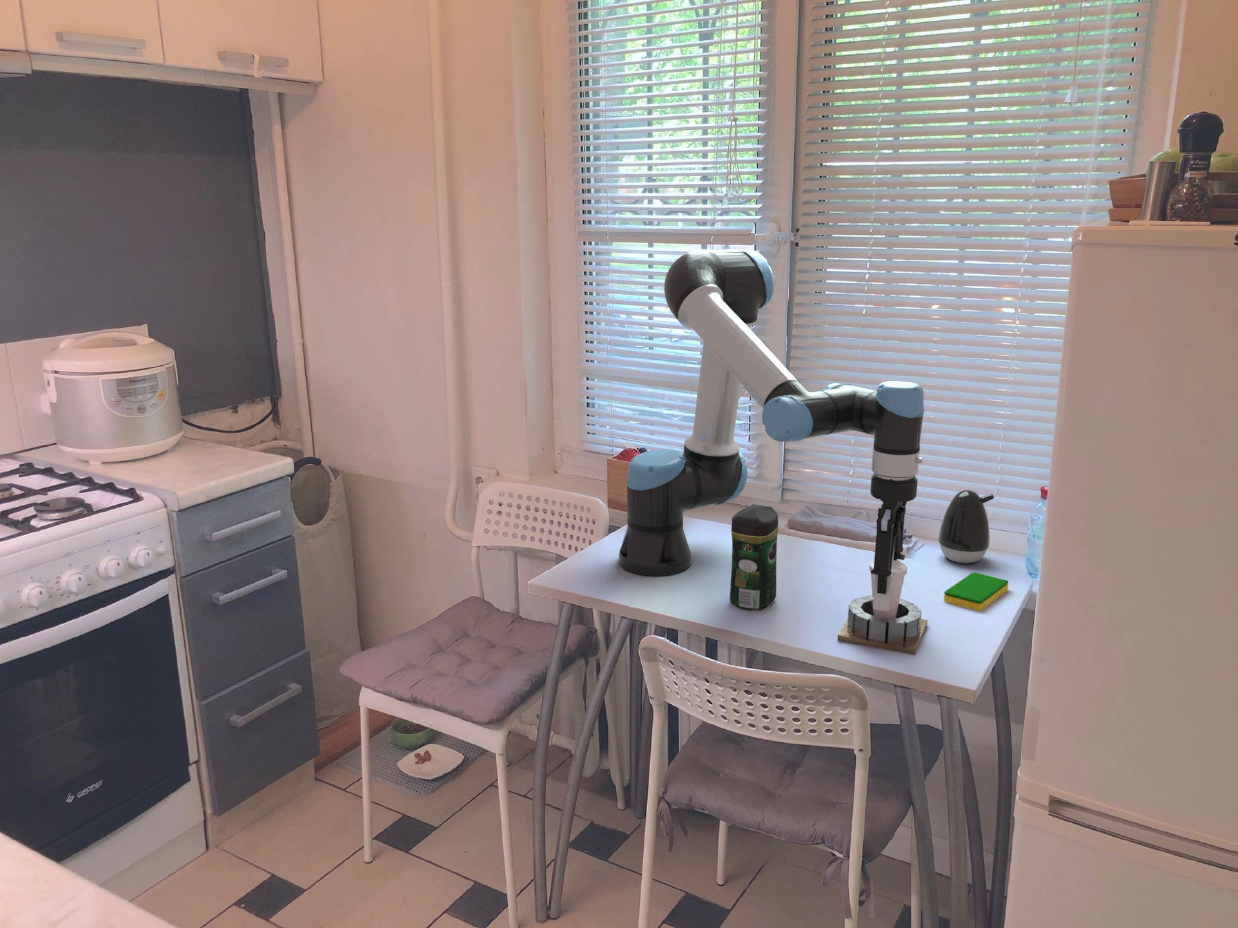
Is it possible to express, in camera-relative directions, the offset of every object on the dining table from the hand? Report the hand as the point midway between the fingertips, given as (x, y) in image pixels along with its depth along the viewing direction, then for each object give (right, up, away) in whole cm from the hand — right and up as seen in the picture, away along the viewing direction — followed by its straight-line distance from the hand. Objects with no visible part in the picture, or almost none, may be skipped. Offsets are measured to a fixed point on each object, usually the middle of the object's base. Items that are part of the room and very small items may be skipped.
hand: (885, 601), depth 168 cm
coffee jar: (-21, -2, +15) cm, 26 cm away
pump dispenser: (+26, +4, +36) cm, 45 cm away
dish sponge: (+22, -2, +18) cm, 28 cm away
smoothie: (0, -3, +1) cm, 3 cm away
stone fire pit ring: (0, -6, +1) cm, 6 cm away
